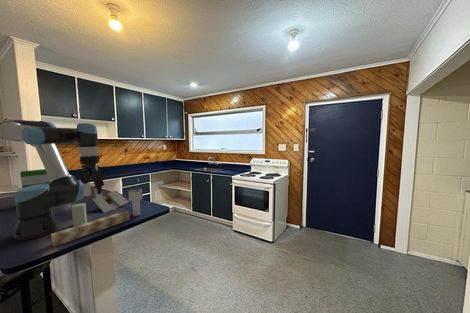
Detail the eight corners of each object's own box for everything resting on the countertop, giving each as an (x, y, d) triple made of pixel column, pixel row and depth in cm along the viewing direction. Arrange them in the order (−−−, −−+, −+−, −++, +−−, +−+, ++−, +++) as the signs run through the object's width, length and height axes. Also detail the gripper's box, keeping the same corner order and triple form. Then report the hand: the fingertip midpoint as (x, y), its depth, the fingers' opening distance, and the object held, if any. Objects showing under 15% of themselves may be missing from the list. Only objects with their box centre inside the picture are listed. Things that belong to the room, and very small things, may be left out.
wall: (127, 208, 138) (115, 193, 142) (130, 201, 134) (117, 186, 137) (102, 220, 125) (90, 203, 128) (104, 213, 120) (91, 195, 124)
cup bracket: (130, 217, 112) (128, 193, 110) (130, 213, 118) (128, 190, 117) (143, 215, 115) (142, 191, 114) (142, 211, 122) (141, 188, 120)
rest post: (73, 227, 100) (71, 207, 99) (75, 224, 105) (73, 204, 104) (85, 225, 103) (83, 205, 102) (87, 222, 107) (85, 202, 106)
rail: (54, 247, 83) (53, 236, 83) (51, 244, 85) (50, 234, 84) (129, 220, 109) (128, 211, 109) (126, 219, 111) (125, 210, 111)
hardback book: (24, 206, 133) (20, 172, 131) (24, 204, 138) (20, 171, 136) (59, 200, 146) (55, 169, 144) (57, 198, 151) (54, 168, 149)
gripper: (110, 155, 90) (113, 200, 92) (87, 153, 104) (91, 192, 106) (91, 157, 84) (95, 204, 86) (70, 155, 97) (74, 195, 100)
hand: (93, 198), depth 96 cm, fingers open, 13 cm apart
